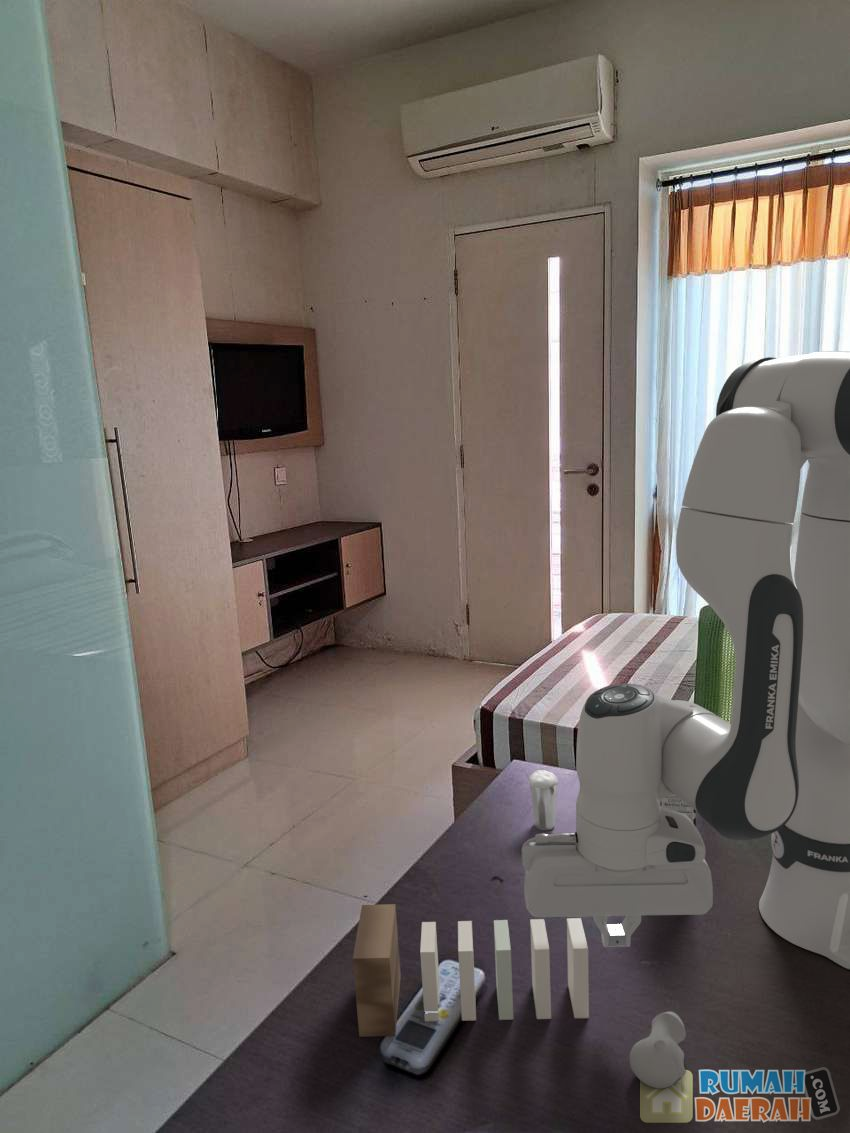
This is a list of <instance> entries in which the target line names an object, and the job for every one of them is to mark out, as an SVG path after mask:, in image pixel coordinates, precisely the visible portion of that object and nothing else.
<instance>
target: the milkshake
mask: <svg viewBox="0 0 850 1133" xmlns="http://www.w3.org/2000/svg"><path fill="white" fill-rule="evenodd" d="M524 773H525V775H526V778H527V779H528V782H529V783H528V784H529V789H530V791H529V792H530V796H531V797H530V798H531V804H532V813H533V814H532V816H533V823H534V827H535V828H536V829H537V830H539V831H544V832H545V831H551V830H552V829H554V828H555V826H556V825H555V824H556V807H557V796H558V795H557V793H558V781H559V778H558V777H557V776H556V775H555V773H553V772H551V771H548V770H546V769H543V770H539V769H537V770H535V771H534V772H533V773H532V774H530V775H529V776H528V774H527V772H526V771H524Z"/></svg>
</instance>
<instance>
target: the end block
mask: <svg viewBox="0 0 850 1133" xmlns="http://www.w3.org/2000/svg"><path fill="white" fill-rule="evenodd" d="M399 947H400V946H399V935H398V922H397V908H396V904H395V903H391V904H387V903H386V904H383V903H382V904H361V909H360V914H359V921H358V926H357V932H356V938H355V943H354V948H353V954H352V968H353V980H354V989H355V991H354V992H355V1000H356V1001H355V1002H356V1012H357V1023H358V1025H357V1026H358V1034H359V1035H358V1036H359V1037H361V1038H362V1037H395V1036H396V1032H397V1020H398V1009H399V999H400V987H401V986H400V985H401V978H402V976H401V964H400V949H399Z"/></svg>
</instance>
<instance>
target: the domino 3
mask: <svg viewBox="0 0 850 1133" xmlns="http://www.w3.org/2000/svg"><path fill="white" fill-rule="evenodd" d="M508 920H509V919H501V920H500V919H495V920H493V936H494V957H495V960H494V962H495V981H496V983H495V984H496V998H497V1007H498V1008H497V1009H498V1020H499V1021H502V1020H503V1021H505V1020H508V1021H509V1020H510V1021H511V1020H514V1000H513V999H514V998H513V973H512V970H513V969H512V968H513V967H512V949H511V941H510V930H509V923H508V922H509V921H508Z"/></svg>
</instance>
